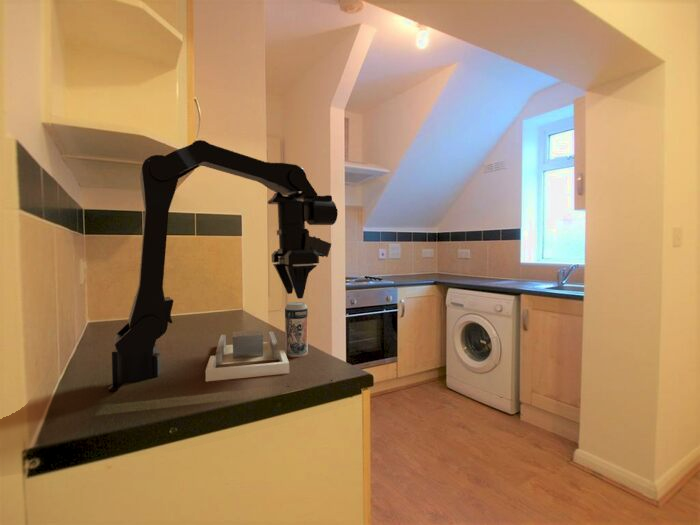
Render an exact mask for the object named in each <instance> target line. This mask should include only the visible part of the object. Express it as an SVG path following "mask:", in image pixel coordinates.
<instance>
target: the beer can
mask: <svg viewBox="0 0 700 525" xmlns="http://www.w3.org/2000/svg"><path fill="white" fill-rule="evenodd" d="M308 319H309V318H308V306H307V304H306V302H302V301H297V302H295V301H293V302H288V303H286V306H285V308H284V335H285V336H284V337H285V338H284V342H285V343H284V347H285V348H284V351H285V354H286V356H287V357H291V358H298V357H299V358H300V357H305V356H307V355H308V354H309V352H308V351H309V347H308V346H309V345H308V344H309V336H308V335H309V334H308V331H309V330H308V329H309V328H308V326H309V324H308V323H309V322H308V321H309V320H308Z"/></svg>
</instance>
